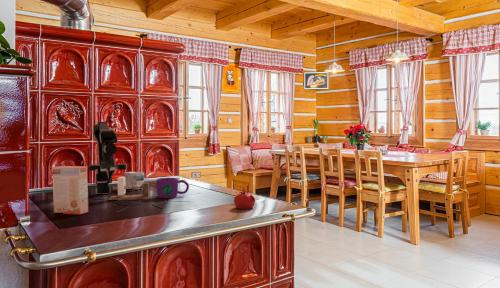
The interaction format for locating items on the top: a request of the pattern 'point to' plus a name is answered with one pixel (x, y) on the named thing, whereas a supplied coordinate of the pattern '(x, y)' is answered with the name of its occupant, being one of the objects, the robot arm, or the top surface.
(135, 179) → the light bulb box
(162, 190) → the mug
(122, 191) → the tan rectangular block
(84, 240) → the top surface
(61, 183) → the cracker box
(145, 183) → the rod stand
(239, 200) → the pomegranate
